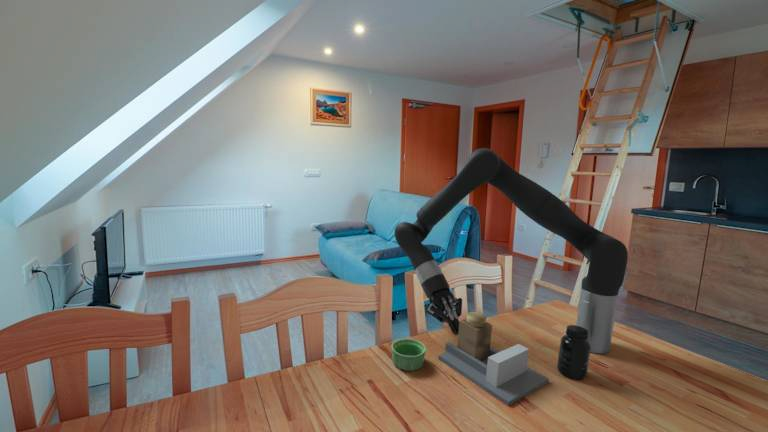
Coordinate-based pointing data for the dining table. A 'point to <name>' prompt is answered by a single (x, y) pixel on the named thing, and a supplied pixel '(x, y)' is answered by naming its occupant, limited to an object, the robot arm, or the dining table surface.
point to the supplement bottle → (574, 353)
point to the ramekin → (408, 354)
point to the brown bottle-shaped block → (475, 335)
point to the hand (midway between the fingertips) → (459, 333)
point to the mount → (497, 371)
